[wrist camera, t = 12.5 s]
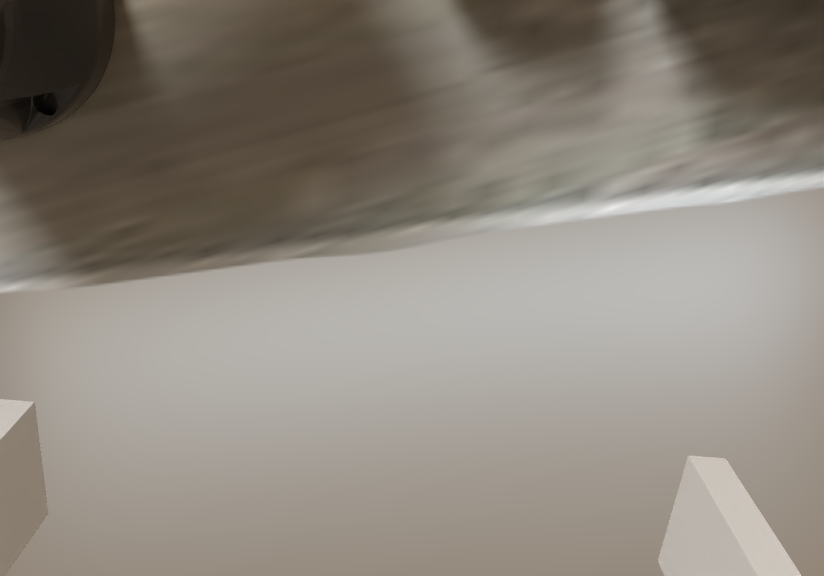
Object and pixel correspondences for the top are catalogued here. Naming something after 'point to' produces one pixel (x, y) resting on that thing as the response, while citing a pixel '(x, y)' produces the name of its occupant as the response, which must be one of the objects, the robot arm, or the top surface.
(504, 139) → the top surface
